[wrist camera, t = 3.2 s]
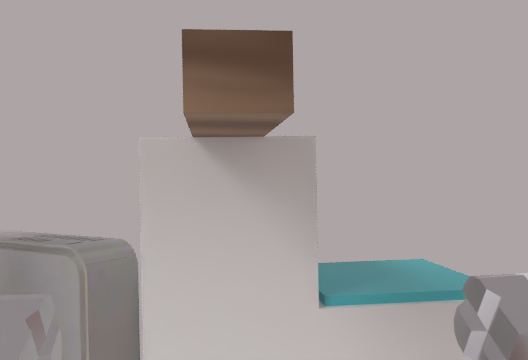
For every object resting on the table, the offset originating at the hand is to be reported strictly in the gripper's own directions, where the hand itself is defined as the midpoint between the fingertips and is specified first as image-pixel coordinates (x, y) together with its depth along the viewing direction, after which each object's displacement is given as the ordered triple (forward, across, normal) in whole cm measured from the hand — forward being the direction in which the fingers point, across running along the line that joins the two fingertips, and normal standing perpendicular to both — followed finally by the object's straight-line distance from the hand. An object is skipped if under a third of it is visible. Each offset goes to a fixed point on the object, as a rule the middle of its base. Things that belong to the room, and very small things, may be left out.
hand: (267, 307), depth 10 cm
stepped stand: (+10, -6, +30) cm, 33 cm away
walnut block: (+21, 0, +6) cm, 22 cm away
